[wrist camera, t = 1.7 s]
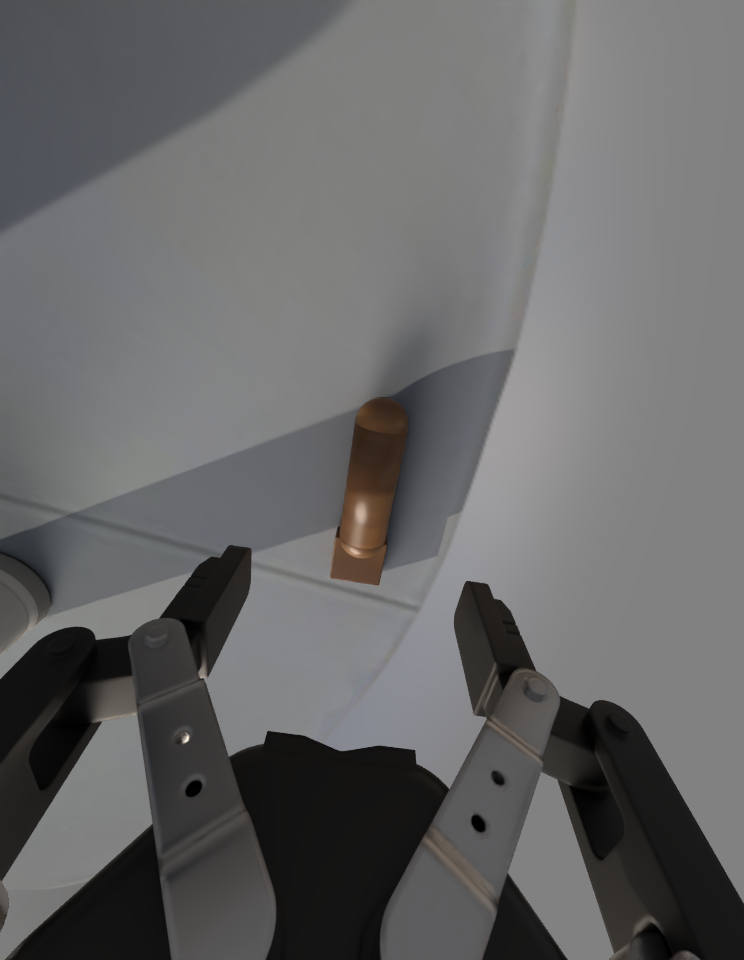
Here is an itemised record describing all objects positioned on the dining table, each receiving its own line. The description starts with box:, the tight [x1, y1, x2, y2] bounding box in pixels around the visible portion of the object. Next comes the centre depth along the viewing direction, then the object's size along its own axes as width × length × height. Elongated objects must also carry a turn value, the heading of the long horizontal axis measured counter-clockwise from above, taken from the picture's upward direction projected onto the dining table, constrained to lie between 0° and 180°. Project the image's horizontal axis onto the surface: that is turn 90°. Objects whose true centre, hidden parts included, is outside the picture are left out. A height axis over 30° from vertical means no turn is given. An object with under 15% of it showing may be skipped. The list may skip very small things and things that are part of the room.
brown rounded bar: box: [330, 397, 409, 585], centre depth 20 cm, size 11×3×3 cm, turn 171°
